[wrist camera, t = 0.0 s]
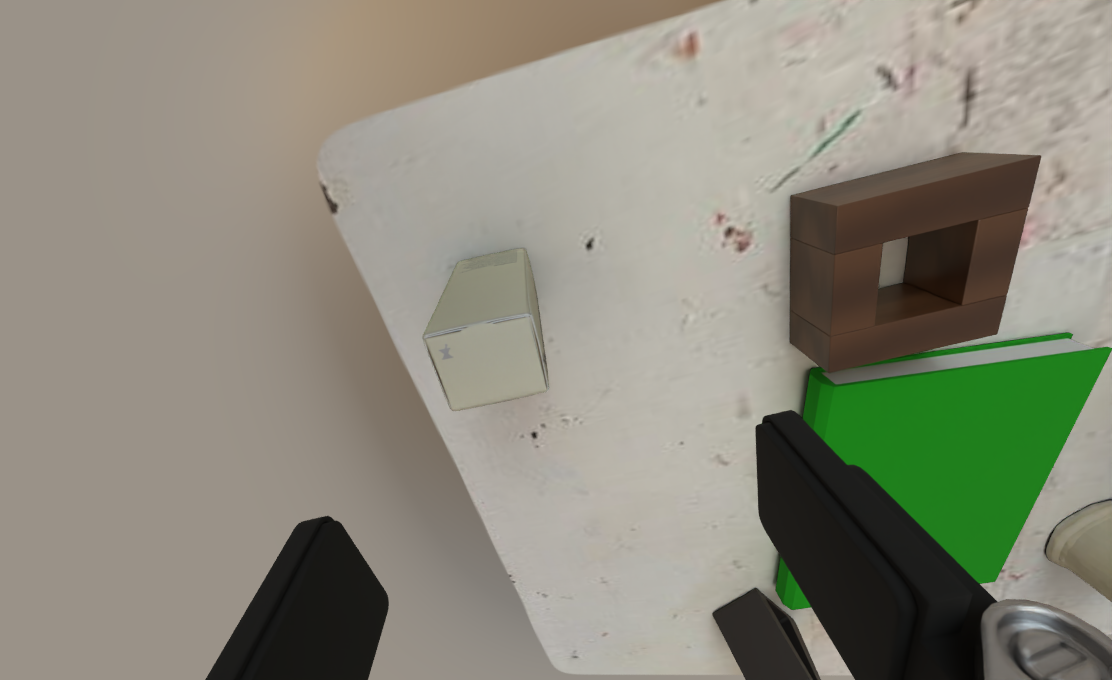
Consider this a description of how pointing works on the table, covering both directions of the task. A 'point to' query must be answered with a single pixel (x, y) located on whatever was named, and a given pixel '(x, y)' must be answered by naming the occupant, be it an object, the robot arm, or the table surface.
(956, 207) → the brown frame
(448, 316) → the box
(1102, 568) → the lamp
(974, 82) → the table surface
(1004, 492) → the book
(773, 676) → the phone stand
